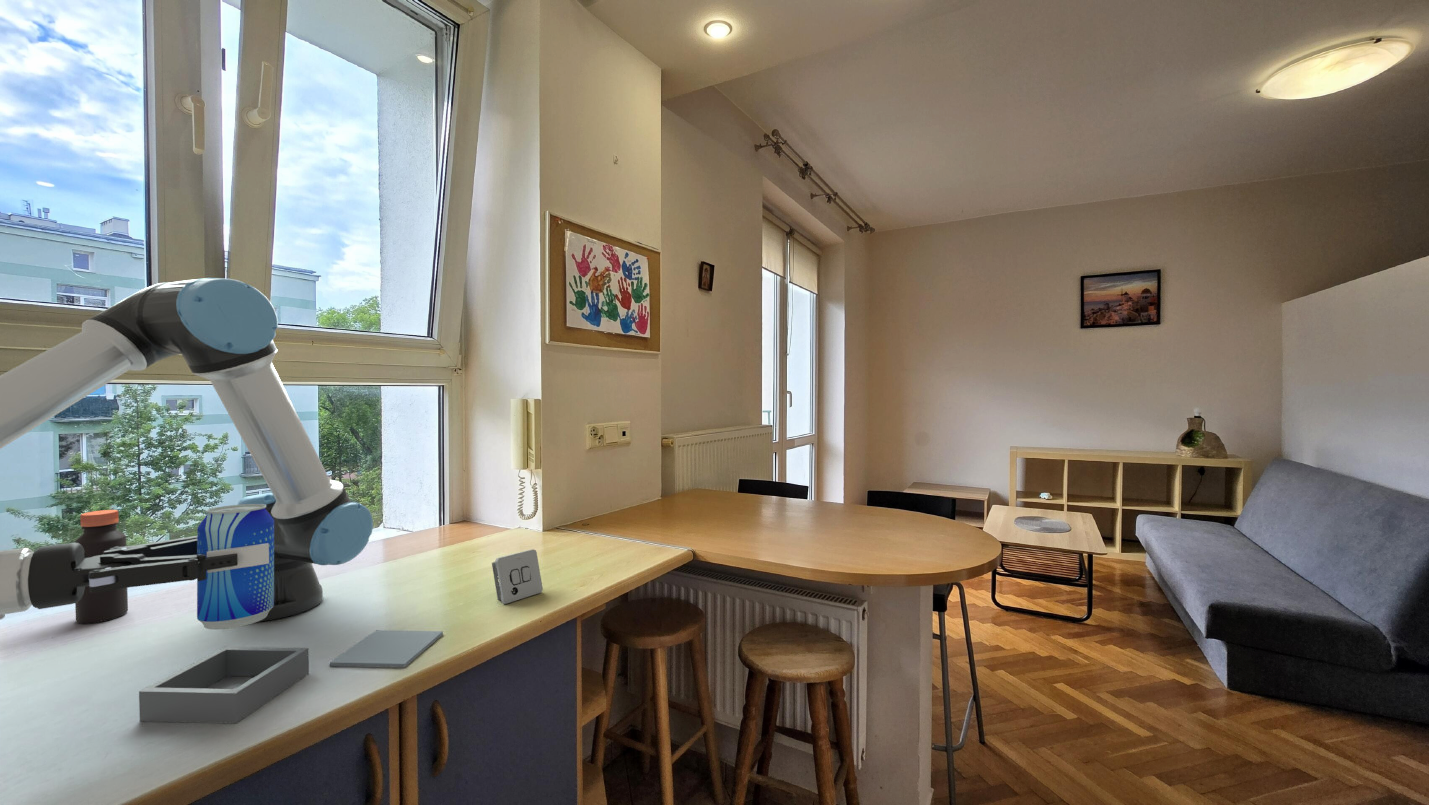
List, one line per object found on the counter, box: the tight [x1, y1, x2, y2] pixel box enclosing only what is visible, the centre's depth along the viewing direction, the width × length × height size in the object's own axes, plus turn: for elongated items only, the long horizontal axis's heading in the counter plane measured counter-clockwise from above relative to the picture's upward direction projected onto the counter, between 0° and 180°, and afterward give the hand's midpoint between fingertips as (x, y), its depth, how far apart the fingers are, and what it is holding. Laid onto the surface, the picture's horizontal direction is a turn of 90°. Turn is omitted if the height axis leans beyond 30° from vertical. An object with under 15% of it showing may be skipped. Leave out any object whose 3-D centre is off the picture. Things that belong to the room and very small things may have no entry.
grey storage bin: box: [138, 646, 310, 724], centre depth 82 cm, size 13×13×4 cm
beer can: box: [196, 504, 274, 631], centre depth 82 cm, size 8×8×16 cm
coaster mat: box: [329, 629, 444, 668], centre depth 97 cm, size 12×12×1 cm
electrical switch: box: [491, 548, 544, 605], centre depth 122 cm, size 9×5×9 cm, turn 141°
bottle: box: [73, 509, 129, 625], centre depth 109 cm, size 7×7×20 cm
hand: (268, 545), depth 84 cm, fingers closed on beer can, 8 cm apart
